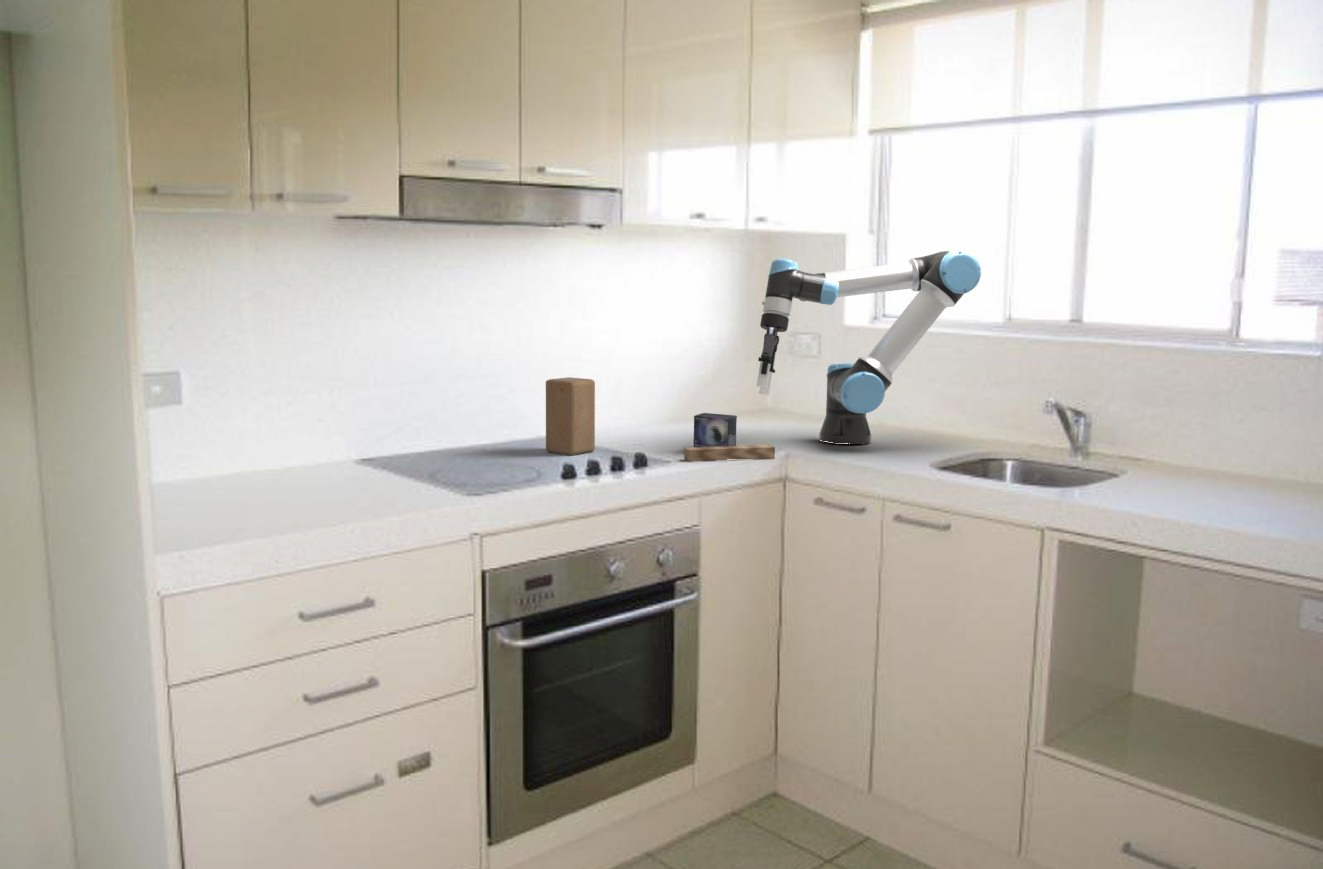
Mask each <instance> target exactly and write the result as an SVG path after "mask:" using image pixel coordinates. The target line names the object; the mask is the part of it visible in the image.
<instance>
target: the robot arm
mask: <svg viewBox="0 0 1323 869" xmlns="http://www.w3.org/2000/svg"><path fill="white" fill-rule="evenodd" d="M798 264H799V263H797V261H794V260H791V259H788V258H776V259H774V260H773V261H772V262H771V266H770V270H769V274H768V276H767V277H768V279H767V286H766V291H765V297H764V301H762V302H761V305H762V306H763V309H762V312H763V313H762V315H761V319H760V324H759V327H760V328H762V329H764V330H765V331H766V332H765V334H764V336H763V347H762V353H761V355H760V357H758V358H757V359H758V360H757V361H758V362H760V365H759V369H758V376H757V381H756V387H759V390H758V394H759V395H765V396H769V395H770V388H771V384H772V379H773V378H772V377H773V373H774V374H775V373H776V369H775V368H774V367H775V366H774V365H775V360H776V353H777V351H778V346H779V343H780V336H779V335H778V333H783V332H784V333H785V332H787V331H788V326H789V320H790V319H789V317H790V316H791V310H792V307H793V306H792V304H793V298H794V299H798V300H799V301H801V302H811V303H818V304H820V305H827V306H832V305H833V304H835V302H836V300H837V298H840V297H841V298H843V297H851V296H852V297H853V296H860V295H868V294H874V293H875V294H876V293H884V292H892V291H900V290H901V291H902V290H909V289H910V290H911V291H913V292H917V294H916V295H915V296H914V297H913V298H912V300H911V301H910V303H909V304H908V305H907V306H906V308H904V310H903V311H902V312H901V314H900V315H899V316H898V317H897V319H895V321H894V322H893V324H892V325H891V326H889V329H888V330H887V331H885V332H886V333H885V334H884V335H883V336H882V337H881V339H880V340H879V341H878V343H876V344H875V346H874V348H873V349H872V350H871V351H870V352H869V354H868V355H866V356H861V357H858V359H857V360H856V361H855V362H854V363H833V364H830V365H829V366H828V368H827V373H826V380H827V381H826V408H825V416H824V420H823V422H822V426H821V428H820V432H819V434H818V435H819V439H820V440H822V441H828V442H833V443H848V444H849V443H850V444H862V445H864V444H863V443H869V444H871V443H872V434H871V430H870V426H869V422H868V419H867V414H868V413H872V412H874V411H875V410H877V409H878V408H879V407H880V406H881V404H882V403H883V401H884V399H885V395H886V391H887V390H888V389H889V388H890V386H892V383H893V374H894V373H895V372H896V370H897V369H898V367H899V366H901V364H902V362H904V360H905V359H906V358H907V356H908V355H909V354H910V352H912V350H913V349H914V348H915V346H916V345H917V344H918V342H920V340H921V339H922V338H923V337H924V336H925V334H926V333H927V331H928V330H929V329H930V328H931V327H932V325H933V324H934V323H935V322H936V321H937V319H938V318H939V317H940V316H941V314H942V313H943V311H944V310H945V309H947V308H950V307H955V305H956V304H957V303H958V302H959V300H961V298H962V297H963V295H964V294H968V293H970V292H971V291H972V290H974V289H975V288H976V287H977V286H978V284H979V283H980V279H981V276H982V270H981V265H980V262H979V260H978V259H977V257H976V256H975V255H973V254H972V253H970V252H968V251H966V250H961V249H953V250H950V251H949V250H947V251H939V252H935V253H932V254H931V253H930V254H928V255H924V256H919V257H912V258H910V259H909V260H908V262H901V263H892V264H884V265H877V266H876V265H875V266H870V267H869V266H868V267H859V268H858V267H857V268H852V269H844V270H836V271H827V272H819V273H818V272H817V273H810V272H805V271H801V270H799V265H798ZM870 442H871V443H870Z"/></svg>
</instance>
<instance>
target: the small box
mask: <svg viewBox="0 0 1323 869" xmlns="http://www.w3.org/2000/svg"><path fill="white" fill-rule="evenodd" d="M737 418H738V416H737V415H734V414H732V415H731V414H721V413H710V412H702V413H699V414H694V415H693V447H723V446H737Z"/></svg>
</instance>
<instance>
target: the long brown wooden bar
mask: <svg viewBox="0 0 1323 869" xmlns="http://www.w3.org/2000/svg"><path fill="white" fill-rule="evenodd" d="M683 450H684V451H683V452H684V453H683V454H684V455H683V456H684V457H683V459H685V460H684V461H686V462H687V463H693V462H694V461H702V462H717V461H716V460H727V459H753V460H755V461H756V460H775V458H776V457H775V452H776V447H775V446H773V445H770V444H764V445H763V444H760V445H758V444H757V445H736V446H723V447H694V446H693V447H684V449H683ZM753 460H752V461H753ZM694 463H695V462H694Z"/></svg>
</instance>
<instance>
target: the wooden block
mask: <svg viewBox="0 0 1323 869" xmlns="http://www.w3.org/2000/svg"><path fill="white" fill-rule="evenodd" d="M595 410H596V382H595V380H593V379H591V378H581V377H580V378H579V377H560V378H551V379H547V380H545V451H546V452H548V453H551V452H552V454H558V455H564V454H565V455H567V456H577V455H582V454H587V453H593V452H594V451H595V446H596V444H595V443H596V442H595V441H596V439H595V438H596V436H595V434H596V432H595V431H596V429H595V428H596V424H595V422H596V421H595V420H596V418H595V417H596V416H595V415H596V411H595Z"/></svg>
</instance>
